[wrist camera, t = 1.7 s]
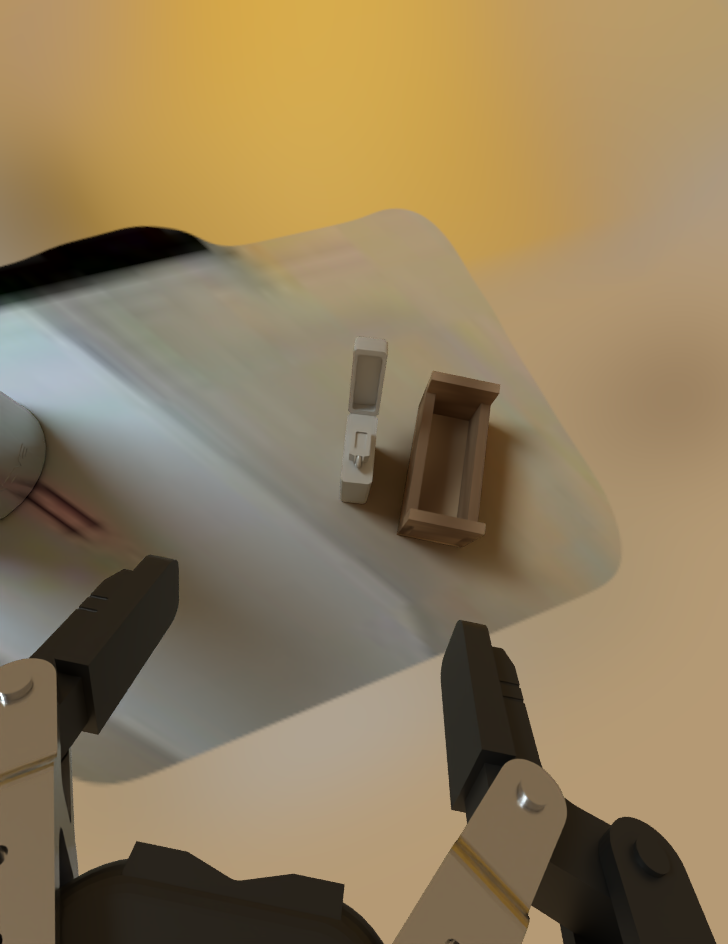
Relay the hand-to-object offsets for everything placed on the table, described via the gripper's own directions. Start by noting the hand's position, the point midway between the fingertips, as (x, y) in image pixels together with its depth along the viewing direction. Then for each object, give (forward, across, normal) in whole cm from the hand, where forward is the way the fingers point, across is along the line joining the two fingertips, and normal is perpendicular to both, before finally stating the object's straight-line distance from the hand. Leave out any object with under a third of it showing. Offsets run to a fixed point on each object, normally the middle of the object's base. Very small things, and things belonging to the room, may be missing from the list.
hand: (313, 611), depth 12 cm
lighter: (+17, 0, +2) cm, 17 cm away
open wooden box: (+17, -6, +3) cm, 18 cm away
